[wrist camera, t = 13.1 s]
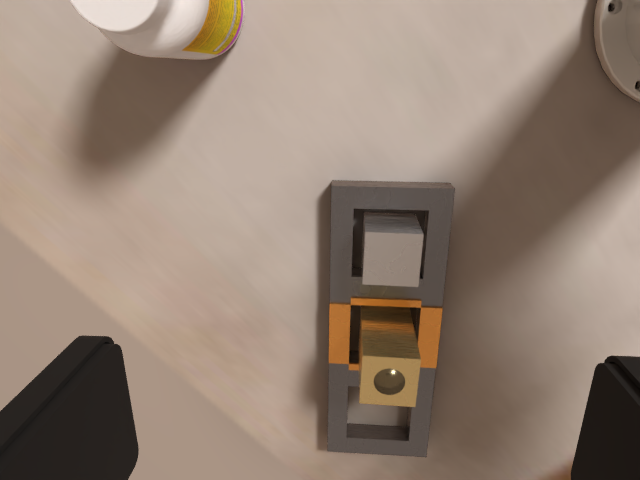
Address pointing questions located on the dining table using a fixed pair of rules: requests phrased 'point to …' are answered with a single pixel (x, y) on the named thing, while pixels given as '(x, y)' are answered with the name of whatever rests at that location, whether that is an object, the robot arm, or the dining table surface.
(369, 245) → the block
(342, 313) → the rail
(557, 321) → the dining table surface
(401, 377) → the brass nut
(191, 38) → the supplement bottle
